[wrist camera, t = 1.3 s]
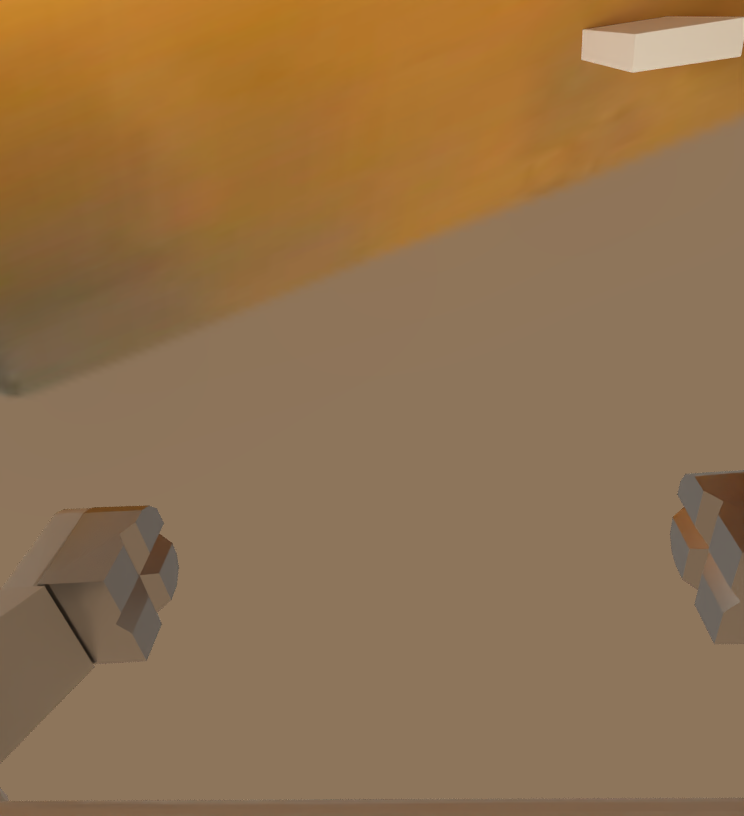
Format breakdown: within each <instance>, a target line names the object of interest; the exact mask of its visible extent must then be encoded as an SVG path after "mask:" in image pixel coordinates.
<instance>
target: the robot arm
mask: <svg viewBox="0 0 744 816" xmlns="http://www.w3.org/2000/svg"><path fill="white" fill-rule="evenodd" d="M677 495H678V497H679V498H680V500H681V502H682V504H683V506H684V508H682V509H681V510H680V511H679V512H678V513H677V514H676V515H675V516H673V519H672V525H671V531H670V539H671V549H672V555H673V558H674V561H675V564H676V567H677V569H678V571H679V573H680V576H681V578H682V579H683V580H684V581H685V582H687V583H688V584H690V585H691V586H693V587H694V588H696V589H697V590H698V592H697V596H696V600H695V606H696V608H697V611H698V613H699V614H700V617H701V619H702V621H703V622H704V624H705V626H706V629H707V631H708V633H709V635H710V636H711V639H712V641H713V643H714V644H744V470H739V471H725V472H708V473H693V474H685V475H684V477H683V478H682V480H681V482H680V486H679V490H678V494H677ZM163 524H164V522H163V521H162V518H161V516H160V514H159V512H158V510H157V508H154V507H151V506H125V507H97V508H96V507H95V508H89V509H88V508H86V509H63V510H61V511H59V512H57V513H56V514H54V515H53V517H52V518H51V520H50V521H49V523H48V524H47V525H46V527H45V528H44V529H43V531H42V532H41V534H40V535H39V536H38V538H37V539H36V541H35V542H34V543H33V545H32V546H31V548H30V549H29V550H28V552H27V553H26V555H25V556H24V557H23V559H22V560H21V562H20V563H19V565H18V566H17V567H16V569H15V570H14V571H13V573H12V574H11V576H10V577H9V579H8V580H7V581H6V583H5V584H4V585H3V587H2V588H0V763H1V762H3V760H5V758H6V757H7V756H8V755H9V754H10V753H11V752H12V751H13V750H14V749H15V748H16V747H17V746H18V745H19V744H20V743H21V742H22V741H23V740H24V739H25V738H26V737H27V736H28V735H29V734H30V733H31V732H32V731H33V730H34V729H35V728H36V727H37V726H38V725H39V724H40V722H41V721H43V720H44V719H45V718H46V716H47V715H48V714H49V713H50V712H51V711H52V710H53V709H54V708H55V707H56V706H57V705H58V704H59V703H60V702H61V701H62V700H63V699H64V698H65V697H66V696H67V695H68V694H69V693H70V692H71V691H72V690H73V689H74V688H75V687H76V686H77V685H78V684H79V683H80V682H81V681H82V680H83V679H84V678H85V676H86V675H87V674H88V673H89V672H90V671H91V670H92V669H93V668H94V665H93V664H106V663H123V662H139V661H147V659H148V656H149V654H150V651H151V649H152V647H153V644H154V642H155V639H156V637H157V634H158V632H159V629H160V627H161V625H162V624H161V621H160V618H159V616H158V613H157V612H158V611H159V610H161V609H162V608H163V607H164V606H165V605H166V604H167V603H169V602H170V601H171V600H172V597H173V594H174V591H175V589H176V586H177V580H178V569H179V565H178V559H177V553H176V551H175V549H174V546H173V544H172V542H170V541H169V540H167V539H166V538H165V537H163V536H162V535H160V534H159V533H160V531H161V528H162V526H163ZM0 816H744V798H582V799H581V798H570V799H569V798H568V799H567V798H565V799H564V798H562V799H560V798H559V799H556V798H554V799H553V798H552V799H333V800H332V799H330V800H327V799H326V800H127V801H126V800H121V801H118V800H117V801H115V800H113V801H112V800H110V801H109V800H108V801H9V800H8V796H7V794H6V793H5V792H4V791H3V790H2V789H1V788H0Z"/></svg>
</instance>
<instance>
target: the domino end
mask: <svg viewBox="0 0 744 816" xmlns="http://www.w3.org/2000/svg"><path fill="white" fill-rule="evenodd" d="M743 41H744V17H704V16H666V17H660V18H654V19H647V20H641V21H635V22H628V23H622V24H616V25H609V26H603V27H597V28H590V29H584V30H583V36H582V58H581V60H585V61H589V62H593V63H597V64H601V65H604V66H608V67H612V68H616V69H620V70H624V71H628V72H632V73H633V72H640V71H646V70H653V69H660V68H667V67H673V66H680V65H687V64H693V63H700V62H707V61H714V60H720V59H727V58H734V57H741V53H742V47H743Z"/></svg>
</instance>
